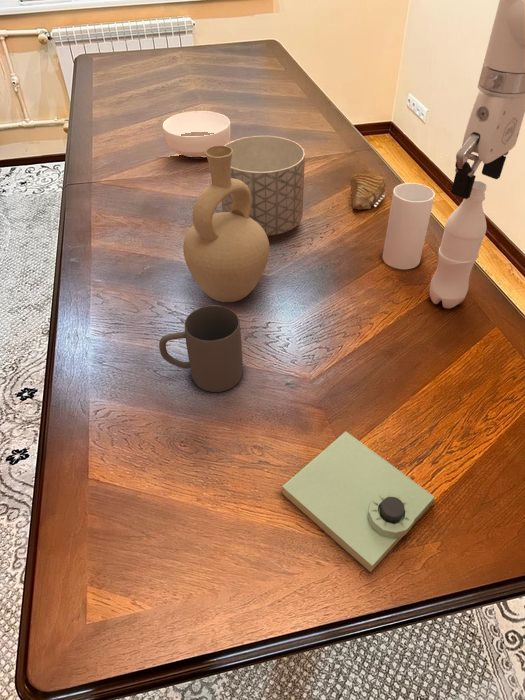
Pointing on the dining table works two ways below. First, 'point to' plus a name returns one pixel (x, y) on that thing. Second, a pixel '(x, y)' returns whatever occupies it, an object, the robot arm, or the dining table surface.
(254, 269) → the vase
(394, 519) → the button
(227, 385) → the mug
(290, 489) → the scale
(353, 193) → the fossil
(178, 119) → the bowl
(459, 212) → the water bottle
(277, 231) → the planter
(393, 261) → the cup
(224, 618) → the dining table surface
